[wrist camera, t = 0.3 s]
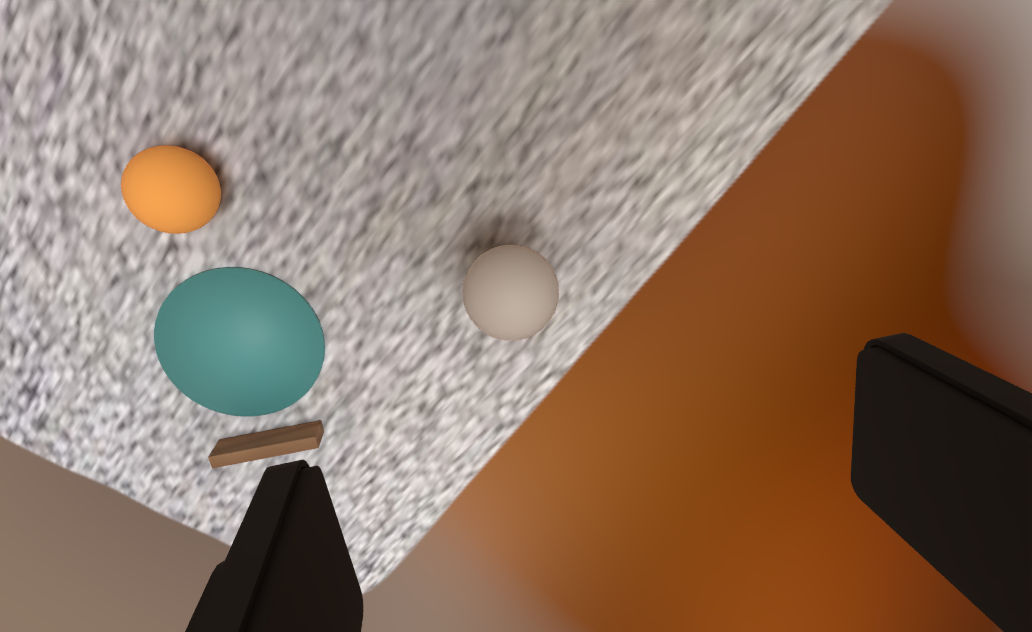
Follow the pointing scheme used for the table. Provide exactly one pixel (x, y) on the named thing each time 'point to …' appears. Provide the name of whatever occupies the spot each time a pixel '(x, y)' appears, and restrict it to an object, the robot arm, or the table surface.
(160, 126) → the table surface
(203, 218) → the ball
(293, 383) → the disc
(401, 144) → the table surface
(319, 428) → the stopper strip
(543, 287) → the lightbulb
